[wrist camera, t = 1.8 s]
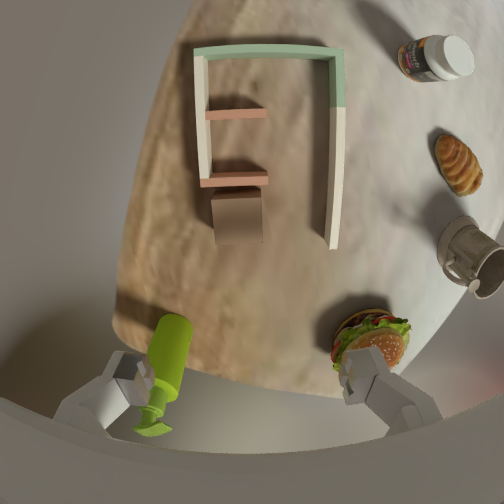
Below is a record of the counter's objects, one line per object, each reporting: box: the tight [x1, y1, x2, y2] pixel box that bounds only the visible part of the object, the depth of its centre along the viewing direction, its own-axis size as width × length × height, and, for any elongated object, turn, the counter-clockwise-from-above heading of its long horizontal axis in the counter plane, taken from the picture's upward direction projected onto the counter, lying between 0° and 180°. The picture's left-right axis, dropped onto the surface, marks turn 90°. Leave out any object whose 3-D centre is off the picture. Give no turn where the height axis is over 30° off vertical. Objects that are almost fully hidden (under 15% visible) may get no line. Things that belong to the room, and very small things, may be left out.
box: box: [194, 44, 345, 249], centre depth 30 cm, size 24×16×3 cm, turn 2°
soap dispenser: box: [133, 314, 193, 436], centre depth 35 cm, size 6×7×20 cm
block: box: [211, 189, 263, 245], centre depth 34 cm, size 6×6×4 cm
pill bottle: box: [398, 35, 474, 82], centre depth 21 cm, size 6×6×10 cm
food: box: [331, 308, 411, 372], centre depth 41 cm, size 14×14×8 cm
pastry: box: [434, 135, 483, 197], centre depth 29 cm, size 9×7×4 cm
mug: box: [437, 216, 504, 299], centre depth 31 cm, size 14×10×12 cm
